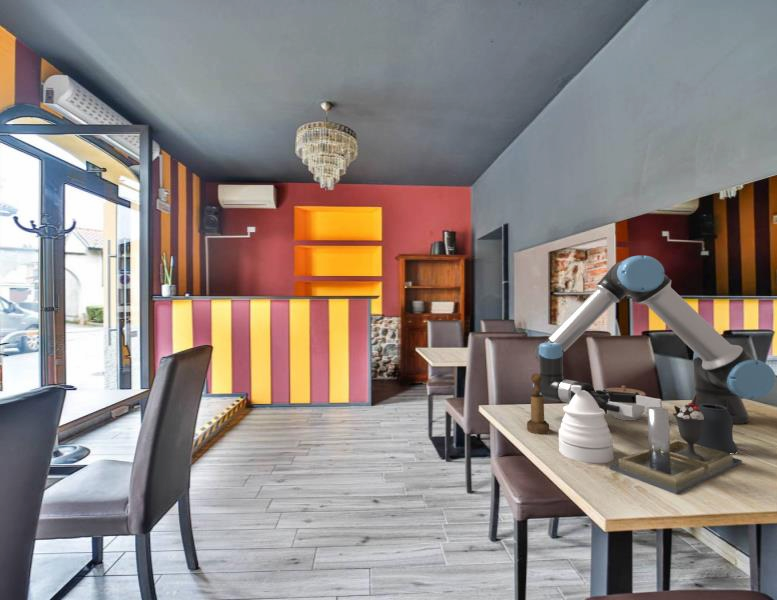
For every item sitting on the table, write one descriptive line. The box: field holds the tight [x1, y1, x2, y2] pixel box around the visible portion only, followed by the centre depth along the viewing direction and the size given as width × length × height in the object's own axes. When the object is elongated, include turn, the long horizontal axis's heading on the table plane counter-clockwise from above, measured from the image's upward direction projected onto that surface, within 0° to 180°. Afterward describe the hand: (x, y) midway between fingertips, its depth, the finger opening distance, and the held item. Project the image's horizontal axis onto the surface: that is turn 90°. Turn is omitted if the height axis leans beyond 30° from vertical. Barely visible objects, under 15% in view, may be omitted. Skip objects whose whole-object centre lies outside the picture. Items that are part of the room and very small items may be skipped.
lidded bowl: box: [603, 385, 647, 421], centre depth 129 cm, size 13×13×11 cm
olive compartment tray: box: [609, 407, 743, 495], centre depth 90 cm, size 30×14×15 cm, turn 117°
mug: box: [694, 404, 739, 453], centre depth 101 cm, size 12×9×11 cm
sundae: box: [672, 398, 707, 461], centre depth 93 cm, size 7×7×15 cm
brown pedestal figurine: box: [526, 373, 550, 435], centre depth 118 cm, size 7×6×18 cm
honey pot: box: [558, 385, 614, 464], centre depth 99 cm, size 13×13×18 cm
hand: (647, 408), depth 101 cm, fingers open, 13 cm apart
